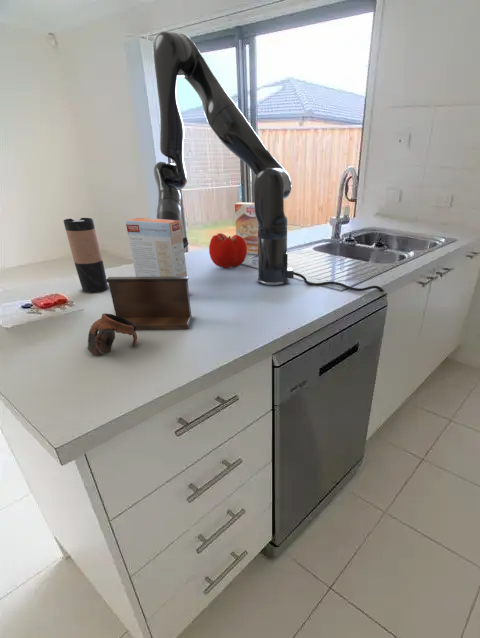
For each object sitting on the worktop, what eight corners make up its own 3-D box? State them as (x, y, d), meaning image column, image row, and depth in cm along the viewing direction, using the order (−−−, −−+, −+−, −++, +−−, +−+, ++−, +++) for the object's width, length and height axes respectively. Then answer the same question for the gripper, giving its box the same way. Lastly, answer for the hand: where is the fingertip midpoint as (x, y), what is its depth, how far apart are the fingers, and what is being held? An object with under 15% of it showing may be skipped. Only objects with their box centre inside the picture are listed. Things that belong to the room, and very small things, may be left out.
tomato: (204, 269, 135) (201, 235, 129) (223, 260, 147) (221, 229, 141) (236, 273, 131) (234, 238, 125) (253, 264, 143) (253, 232, 137)
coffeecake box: (236, 253, 157) (234, 203, 147) (240, 250, 163) (238, 201, 153) (270, 255, 155) (270, 204, 145) (273, 251, 161) (274, 203, 151)
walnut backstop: (192, 318, 95) (188, 276, 89) (189, 328, 89) (183, 284, 83) (118, 319, 93) (108, 276, 88) (109, 330, 87) (98, 285, 82)
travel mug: (99, 294, 110) (81, 222, 100) (76, 292, 111) (56, 220, 101) (114, 286, 116) (98, 218, 106) (92, 284, 118) (75, 217, 107)
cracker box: (190, 294, 111) (181, 219, 100) (179, 300, 106) (168, 222, 95) (150, 289, 115) (138, 216, 104) (138, 294, 110) (124, 219, 99)
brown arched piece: (90, 342, 83) (102, 308, 81) (132, 358, 85) (145, 325, 84) (72, 354, 71) (86, 314, 70) (122, 371, 74) (136, 333, 73)
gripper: (144, 209, 115) (141, 259, 111) (187, 210, 116) (186, 259, 112) (151, 225, 122) (148, 272, 118) (191, 225, 123) (190, 272, 119)
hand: (167, 266), depth 115 cm, fingers closed
